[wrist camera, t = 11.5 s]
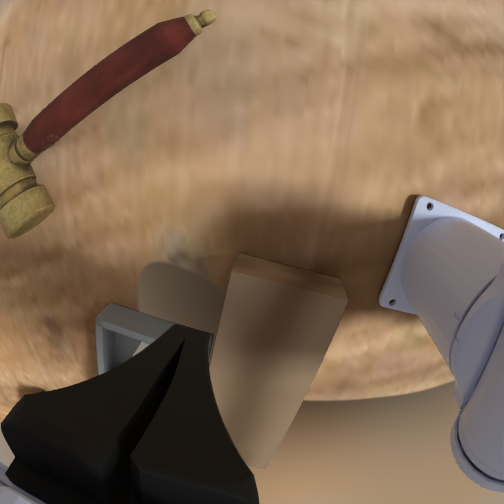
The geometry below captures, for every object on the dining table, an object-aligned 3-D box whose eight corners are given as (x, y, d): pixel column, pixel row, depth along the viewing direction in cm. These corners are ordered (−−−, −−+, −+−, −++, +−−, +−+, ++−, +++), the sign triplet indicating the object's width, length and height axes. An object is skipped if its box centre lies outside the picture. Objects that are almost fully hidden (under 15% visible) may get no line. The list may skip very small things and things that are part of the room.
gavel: (173, -51, 12) (251, 66, 15) (189, -21, 16) (254, 83, 19) (-44, 138, 16) (-2, 246, 18) (-9, 135, 20) (32, 230, 23)
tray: (213, 334, 24) (206, 354, 21) (192, 433, 28) (187, 452, 26) (110, 302, 24) (95, 317, 21) (113, 406, 28) (104, 423, 26)
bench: (341, 279, 21) (348, 300, 18) (267, 445, 28) (265, 469, 25) (238, 252, 21) (231, 270, 18) (197, 429, 28) (190, 452, 25)
